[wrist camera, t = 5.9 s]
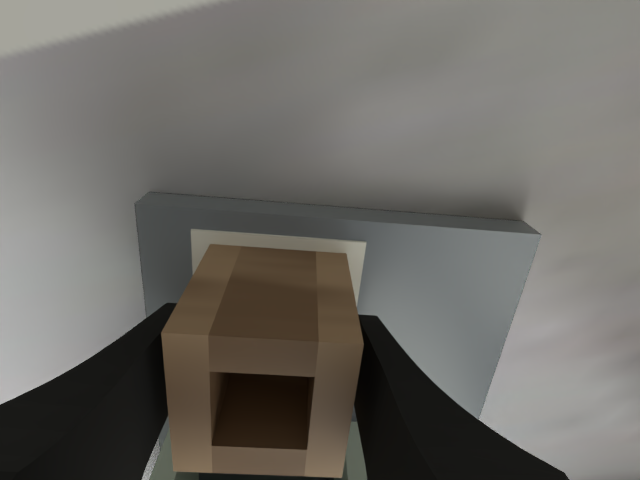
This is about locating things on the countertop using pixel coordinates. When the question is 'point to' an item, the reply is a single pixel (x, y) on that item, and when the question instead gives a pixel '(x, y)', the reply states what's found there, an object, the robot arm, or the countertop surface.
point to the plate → (365, 275)
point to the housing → (164, 475)
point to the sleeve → (263, 363)
